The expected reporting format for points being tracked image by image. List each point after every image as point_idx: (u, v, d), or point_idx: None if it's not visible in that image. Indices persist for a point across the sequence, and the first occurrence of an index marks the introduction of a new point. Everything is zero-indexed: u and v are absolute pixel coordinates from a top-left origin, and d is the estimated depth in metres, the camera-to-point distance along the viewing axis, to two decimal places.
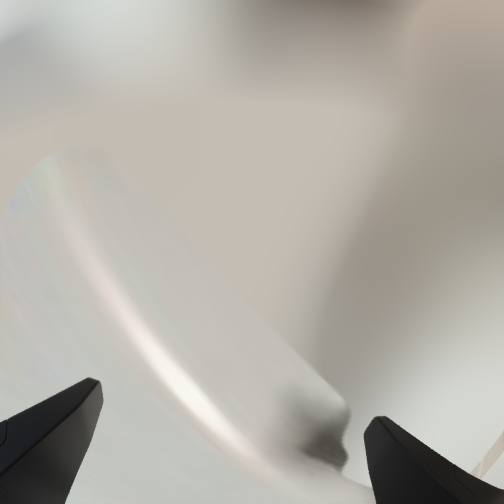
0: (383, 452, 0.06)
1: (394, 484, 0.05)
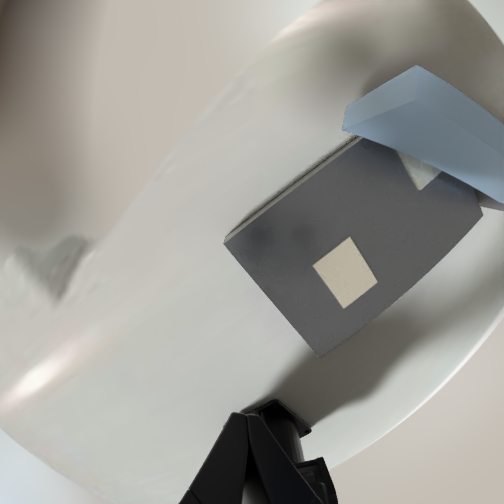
0: None
1: (247, 498, 0.05)
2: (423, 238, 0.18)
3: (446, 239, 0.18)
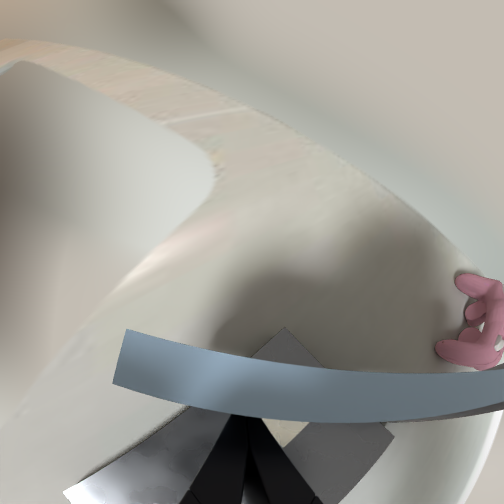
0: None
1: (247, 498, 0.05)
2: None
3: (338, 485, 0.12)
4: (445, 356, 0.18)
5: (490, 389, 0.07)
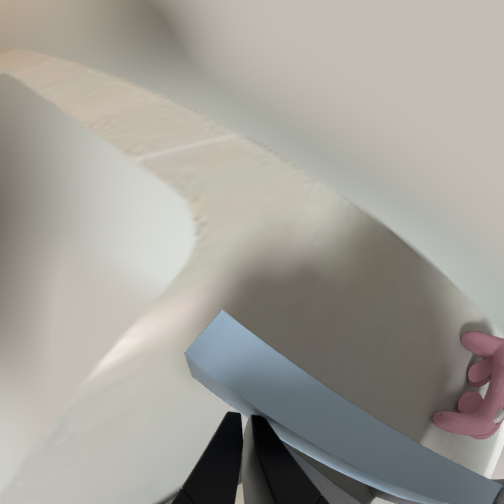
0: (248, 457, 0.06)
1: (252, 498, 0.05)
2: None
3: None
4: (442, 426, 0.15)
5: (480, 496, 0.05)
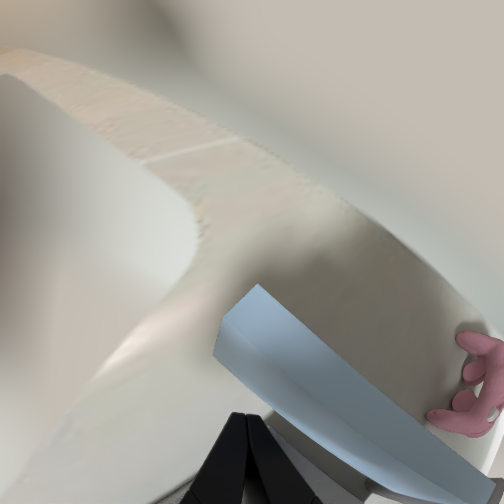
0: None
1: (247, 498, 0.05)
2: None
3: None
4: (436, 424, 0.16)
5: (472, 488, 0.05)
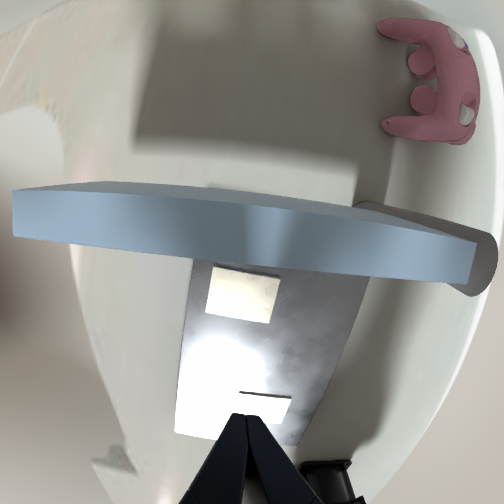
0: None
1: (247, 498, 0.05)
2: (309, 347, 0.18)
3: (338, 326, 0.18)
4: (399, 135, 0.16)
5: (426, 259, 0.07)
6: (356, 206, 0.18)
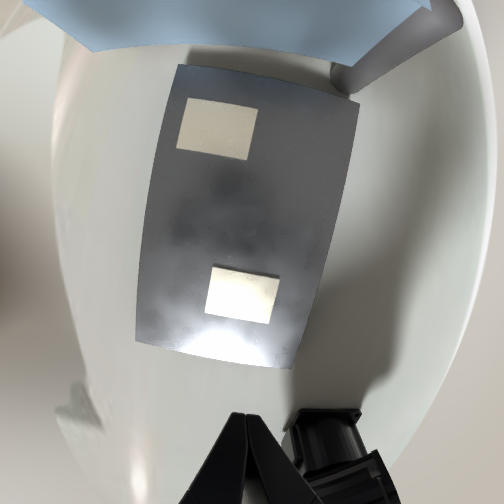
0: None
1: (247, 498, 0.05)
2: (297, 198, 0.16)
3: (329, 173, 0.15)
4: None
5: None
6: (335, 64, 0.15)
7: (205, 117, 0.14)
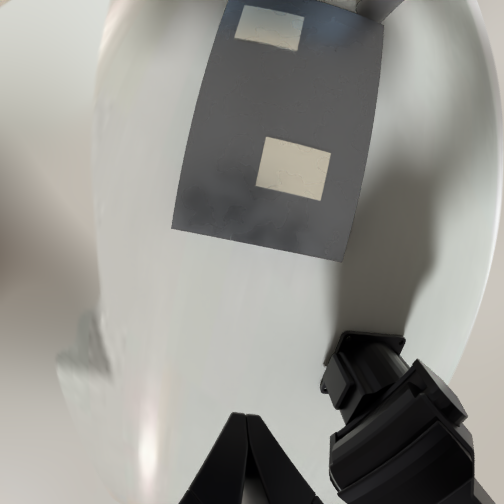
0: None
1: (247, 498, 0.05)
2: (341, 84, 0.15)
3: (365, 69, 0.15)
4: None
5: None
6: (359, 2, 0.14)
7: (260, 18, 0.13)
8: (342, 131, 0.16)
